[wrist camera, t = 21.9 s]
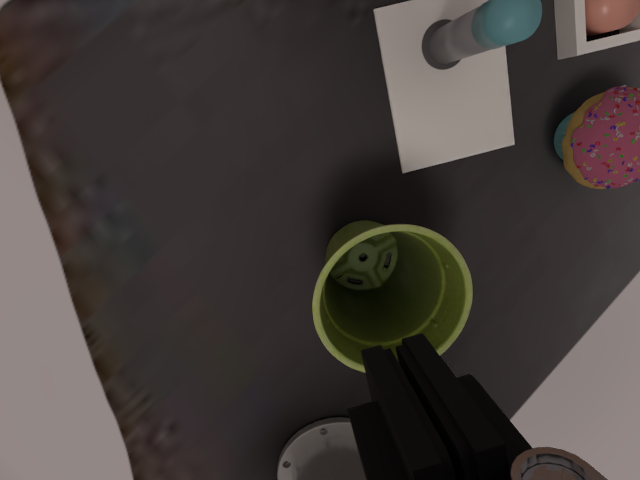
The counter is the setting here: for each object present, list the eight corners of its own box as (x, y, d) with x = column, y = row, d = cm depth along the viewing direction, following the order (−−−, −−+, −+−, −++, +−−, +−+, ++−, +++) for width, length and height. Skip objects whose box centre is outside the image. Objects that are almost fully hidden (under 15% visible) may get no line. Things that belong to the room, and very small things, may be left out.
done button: (619, 29, 38) (643, 23, 35) (573, 40, 38) (594, 35, 35) (617, -26, 37) (642, -36, 34) (570, -14, 36) (592, -24, 34)
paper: (512, 144, 40) (515, 144, 39) (402, 172, 39) (403, 173, 39) (496, -20, 36) (499, -21, 35) (373, 10, 35) (374, 8, 35)
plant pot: (286, 215, 39) (294, 250, 28) (407, 182, 40) (461, 204, 29) (316, 326, 42) (333, 395, 32) (428, 294, 43) (482, 351, 32)
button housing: (628, 42, 39) (652, 37, 36) (557, 59, 38) (577, 55, 36) (627, -44, 37) (652, -55, 34) (552, -26, 36) (572, -37, 34)
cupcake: (554, 81, 39) (674, 64, 27) (631, 102, 40) (777, 95, 29) (523, 173, 41) (624, 192, 29) (598, 190, 42) (721, 215, 31)
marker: (464, 59, 37) (544, 35, 26) (430, 68, 37) (497, 46, 26) (459, 21, 36) (540, -20, 25) (425, 30, 36) (491, -8, 25)
